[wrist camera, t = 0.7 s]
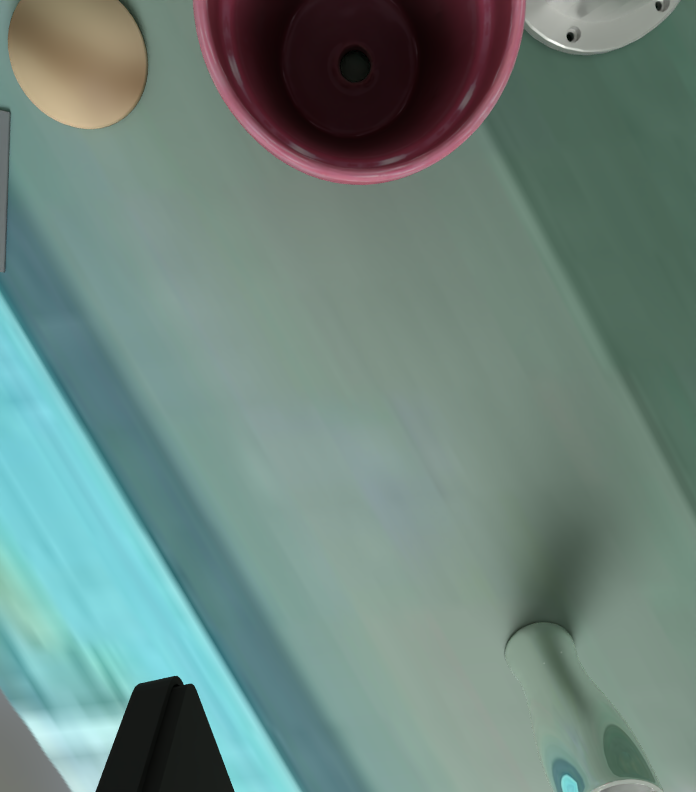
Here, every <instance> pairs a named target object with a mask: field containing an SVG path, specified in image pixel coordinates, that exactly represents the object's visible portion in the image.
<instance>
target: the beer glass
mask: <svg viewBox="0 0 696 792" xmlns="http://www.w3.org/2000/svg"><path fill="white" fill-rule="evenodd" d="M505 658H506V662H507V665H508V667H509V669H510V670H511V672H512V673H513V675H514V676H515V677H516V679H517V680H518V682H519V683H520V685H521V687H522V689H523V691H524V694H525V697H526V701H527V705H528V709H529V715H530V720H531V725H532V730H533V735H534V740H535V743H536V747H537V751H538V755H539V759H540V761H541V764H542V767H543V770H544V773H545V775H546V778H547V780H548V782H549V785H550V787H551V789H552V792H664V791H663V789H662V787H661V785H660V782H659V780H658V778H657V776H656V774H655V772H654V770H653V768H652V766H651V764H650V762H649V760H648V758H647V756H646V754H645V752H644V750H643V748H642V747H641V745H640V743H639V741H638V739H637V738H636V736H635V735H634V733H633V731H632V730H631V728H630V727H629V725H628V724H627V722H626V721H625V719H624V718H623V717H622V715H621V714H620V713H619V711H618V710H617V709H616V707H615V706H614V705H613V704H612V703H611V701H610V700H609V699H608V698H607V697H606V696H605V694H604V693H603V692H602V691H601V690H600V689H599V687H598V686H597V685H596V684H595V683H594V682H593V680H592V679H591V678H590V677H589V675H588V674H587V673H586V671H585V670H584V668H583V666H582V664H581V662H580V660H579V657H578V654H577V651H576V648H575V645H574V642H573V639H572V637H571V635H570V634H569V633H568V632H567V631H566V630H565V629H564V628H563V627H561V626H559V625H557V624H554V623H549V622H538V623H533V624H530V625H527V626H525V627H523V628H521V629H520V630H518V631H517V632H516V633H515V634H514V635H513V636H512V637H511V638H510V640H509V642H508V643H507V646H506V650H505Z"/></svg>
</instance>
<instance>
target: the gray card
mask: <svg viewBox="0 0 696 792" xmlns="http://www.w3.org/2000/svg"><path fill="white" fill-rule="evenodd" d="M9 141H10V112H6V111H2V110H0V272H5V260H6V230H7V201H8V171H9Z"/></svg>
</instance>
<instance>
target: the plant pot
mask: <svg viewBox="0 0 696 792" xmlns="http://www.w3.org/2000/svg"><path fill="white" fill-rule="evenodd" d="M193 9H194V18H195V25H196V31H197V35H198V40H199V44H200V48H201V51H202V54H203V58H204V60H205V63H206V66H207V68H208V71H209V73H210V75H211V77H212V80H213V82H214V84H215V86H216V88H217V90H218V91H219V93H220V95H221V97H222V99H223V100H224V102H225V103H226V105H227V106H228V108H229V109H230V111H231V112H232V113H233V115H234V116H235V117H236V119H237V120H238V121H239V122H240V124H241V125H242V126H243V127H244V128H245V129H246V131H247V132H248V133H249V134H250V135H251V136H252V137H253V138H254V139H255V140H256V141H257V142H258V143H259V144H260V145H262V146H263V147H264V148H265V149H266V150H267V151H269V152H270V153H271V154H273V155H274V156H275V157H277V158H278V159H280V160H281V161H283V162H284V163H286V164H287V165H289V166H291V167H293V168H295V169H297V170H299V171H301V172H303V173H305V174H308V175H310V176H313V177H316V178H319V179H322V180H326V181H330V182H335V183H342V184H352V185H366V184H377V183H384V182H388V181H392V180H397V179H400V178H403V177H406V176H409V175H411V174H414V173H416V172H419V171H421V170H423V169H425V168H427V167H429V166H431V165H432V164H434V163H436V162H438V161H439V160H441V159H442V158H444V157H445V156H447V155H448V154H450V153H451V152H452V151H453V150H455V149H456V148H457V147H459V146H460V145H461V144H462V143H463V142H464V141H465V140H466V139H468V138H469V137H470V136H471V135H472V133H473V132H474V131H475V130H476V129H477V128H478V127H479V126H480V125H481V124H482V122H483V121H484V120H485V119H486V117H487V116H488V115H489V113H490V112H491V110H492V109H493V107H494V106H495V104H496V103H497V101H498V99H499V97H500V96H501V94H502V92H503V90H504V88H505V86H506V84H507V82H508V79H509V77H510V74H511V72H512V70H513V67H514V64H515V61H516V58H517V55H518V51H519V48H520V44H521V39H522V35H523V29H524V23H525V13H526V0H193ZM352 50H358V51H361V52H363V53H364V54H365V55H366V56H367V57H368V59H369V62H370V72H369V74H368V76H367V77H366V78H365V79H364V80H362V81H360V82H355V83H353V82H350V81H348V80H346V79H345V78H344V77H343V76H342V74H341V71H340V62H341V60H342V58H343V56H344V55H345V54H346V53H348V52H350V51H352Z"/></svg>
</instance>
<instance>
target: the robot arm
mask: <svg viewBox="0 0 696 792" xmlns="http://www.w3.org/2000/svg"><path fill="white" fill-rule="evenodd" d="M679 2H680V0H526V13H525V23H524V29H525V30H526V31H527V32H528V33H529V34H530V35H531V36H532V37H533V38H535V39H536V40H538V41H540V42H541V43H543V44H545V45H546V46H548V47H550V48H552V49H555V50H558V51H561V52H565V53H568V54H577V55H593V54H601V53H607V52H610V51H613V50H615V49H618V48H621V47H624V46H626V45H628V44H630V43H632V42H634V41H636V40H638V39H640V38H641V37H643V36H644V35H646V34H647V33H648V32H650V31H651V30H653V29H654V28H656V27H657V26H658V25H659V24H660V23H661V22H662V21H663V20H664V19H665V18H666V17H668V16H669V15H670V13H671V12H672V11H673V10H674V9H675V7H676V6H677V5H678V3H679ZM655 4H657V6H658V10H657V9H656V7H655ZM567 34H570V35H571V41H570V42H569V41H568V40H567V37H566V36H567ZM96 792H234V789H233V786H232V784H231V781H230V778H229V776H228V773H227V770H226V768H225V765H224V762H223V760H222V757H221V754H220V752H219V749H218V746H217V744H216V741H215V738H214V736H213V733H212V730H211V728H210V725H209V722H208V720H207V717H206V714H205V712H204V709H203V706H202V704H201V701H200V698H199V696H198V693H197V690H196V688H195V686H194V685H193V684H186V685H184V684H183V682H182V680H181V679H180V678H179V677H178V676H173V677H168V678H163V679H159V680H154V681H149V682H145V683H140V684H138V685H137V686H136V687H135V688H134V690H133V692H132V695H131V697H130V700H129V703H128V705H127V708H126V711H125V714H124V716H123V719H122V722H121V724H120V727H119V730H118V732H117V735H116V738H115V741H114V743H113V746H112V749H111V751H110V754H109V757H108V759H107V762H106V765H105V768H104V770H103V773H102V776H101V778H100V781H99V784H98V786H97V789H96Z"/></svg>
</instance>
